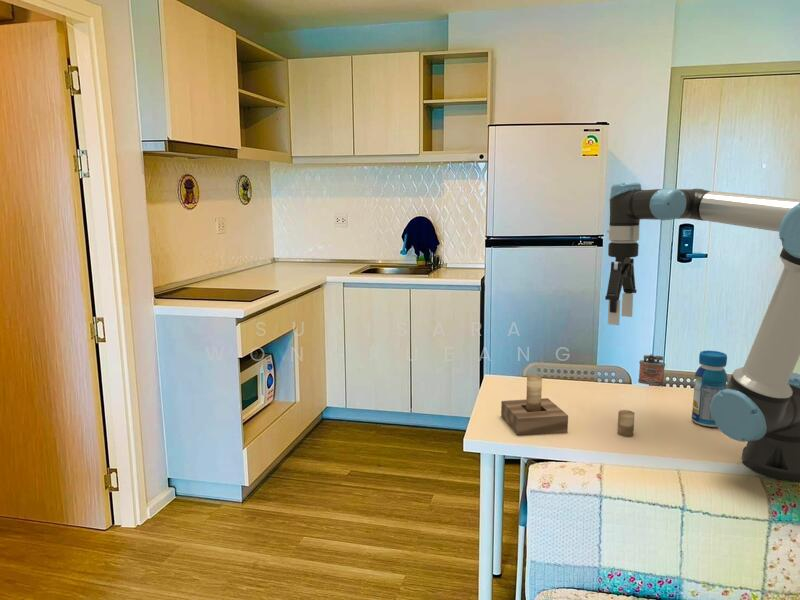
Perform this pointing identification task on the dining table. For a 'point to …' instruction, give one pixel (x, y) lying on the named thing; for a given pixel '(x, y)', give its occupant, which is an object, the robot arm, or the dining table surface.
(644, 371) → the lighter
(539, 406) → the long pin
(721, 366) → the beverage bottle
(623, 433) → the short pin
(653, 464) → the dining table surface
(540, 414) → the pin block
